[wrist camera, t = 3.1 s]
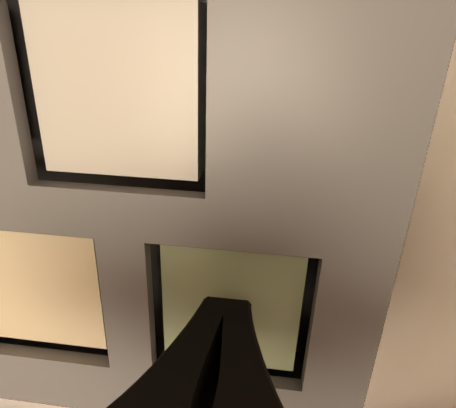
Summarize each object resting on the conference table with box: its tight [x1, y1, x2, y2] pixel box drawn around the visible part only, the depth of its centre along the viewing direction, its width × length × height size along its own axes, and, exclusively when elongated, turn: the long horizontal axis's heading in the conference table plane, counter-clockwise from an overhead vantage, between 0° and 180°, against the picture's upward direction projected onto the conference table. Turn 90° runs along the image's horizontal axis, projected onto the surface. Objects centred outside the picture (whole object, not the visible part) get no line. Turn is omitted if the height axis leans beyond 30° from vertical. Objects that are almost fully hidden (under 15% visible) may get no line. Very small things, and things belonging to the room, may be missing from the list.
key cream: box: [18, 0, 207, 181], centre depth 10 cm, size 4×4×2 cm
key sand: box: [0, 230, 107, 349], centre depth 13 cm, size 4×4×2 cm
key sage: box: [160, 245, 308, 371], centre depth 12 cm, size 4×4×2 cm
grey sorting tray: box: [0, 0, 456, 408], centre depth 12 cm, size 22×18×4 cm
